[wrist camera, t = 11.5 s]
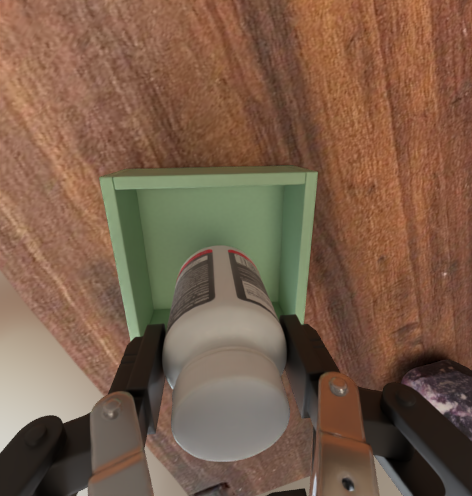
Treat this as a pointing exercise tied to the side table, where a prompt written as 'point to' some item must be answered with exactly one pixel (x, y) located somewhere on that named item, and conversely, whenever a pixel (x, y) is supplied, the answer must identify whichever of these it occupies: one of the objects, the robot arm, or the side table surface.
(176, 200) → the bin
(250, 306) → the pill bottle
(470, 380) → the mineral specimen
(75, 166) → the side table surface
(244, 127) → the side table surface
